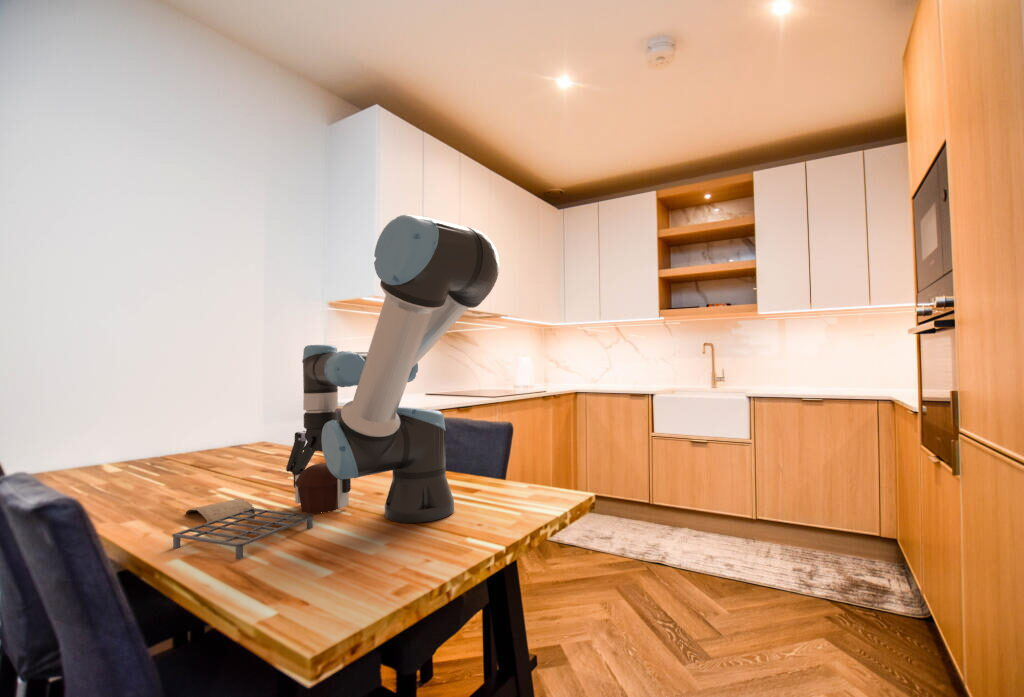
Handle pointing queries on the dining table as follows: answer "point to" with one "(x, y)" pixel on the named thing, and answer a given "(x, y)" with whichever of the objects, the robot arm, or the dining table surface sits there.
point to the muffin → (317, 489)
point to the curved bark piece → (222, 509)
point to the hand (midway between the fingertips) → (321, 504)
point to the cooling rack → (250, 518)
